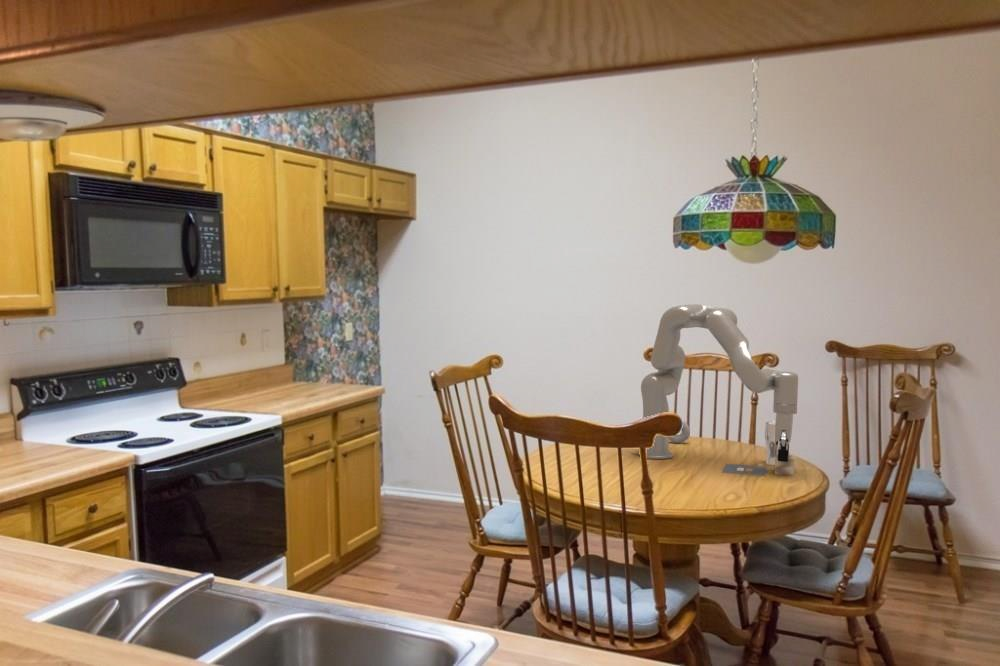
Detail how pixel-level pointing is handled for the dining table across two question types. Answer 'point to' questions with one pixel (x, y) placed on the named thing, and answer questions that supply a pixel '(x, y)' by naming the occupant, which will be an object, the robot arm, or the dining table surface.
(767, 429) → the beer glass
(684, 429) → the donut
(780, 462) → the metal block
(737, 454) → the dining table surface
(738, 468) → the gray mat
